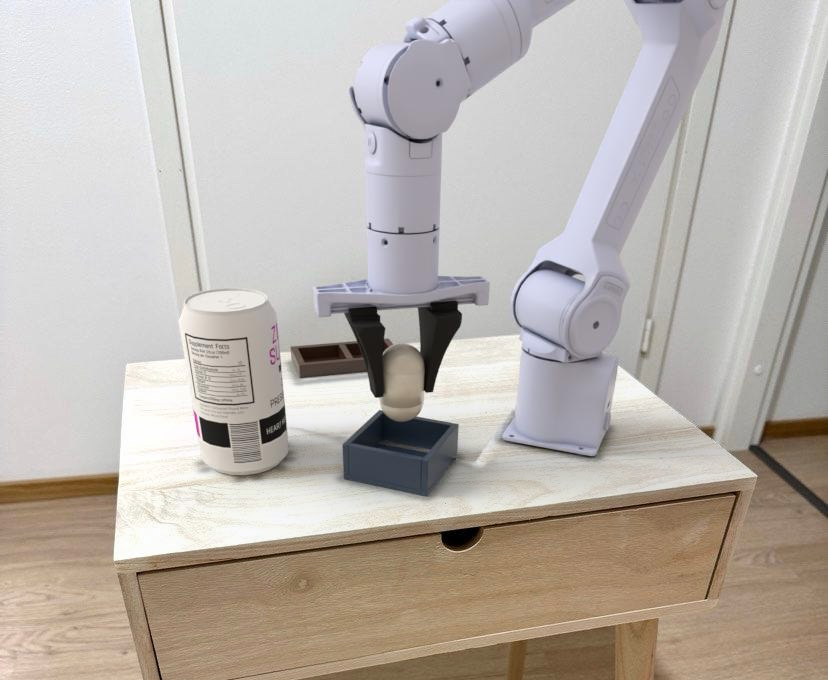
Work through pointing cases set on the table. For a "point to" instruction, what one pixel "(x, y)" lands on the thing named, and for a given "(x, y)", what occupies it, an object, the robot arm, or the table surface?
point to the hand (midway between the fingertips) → (402, 390)
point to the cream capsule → (402, 382)
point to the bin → (400, 453)
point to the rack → (330, 358)
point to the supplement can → (235, 379)
